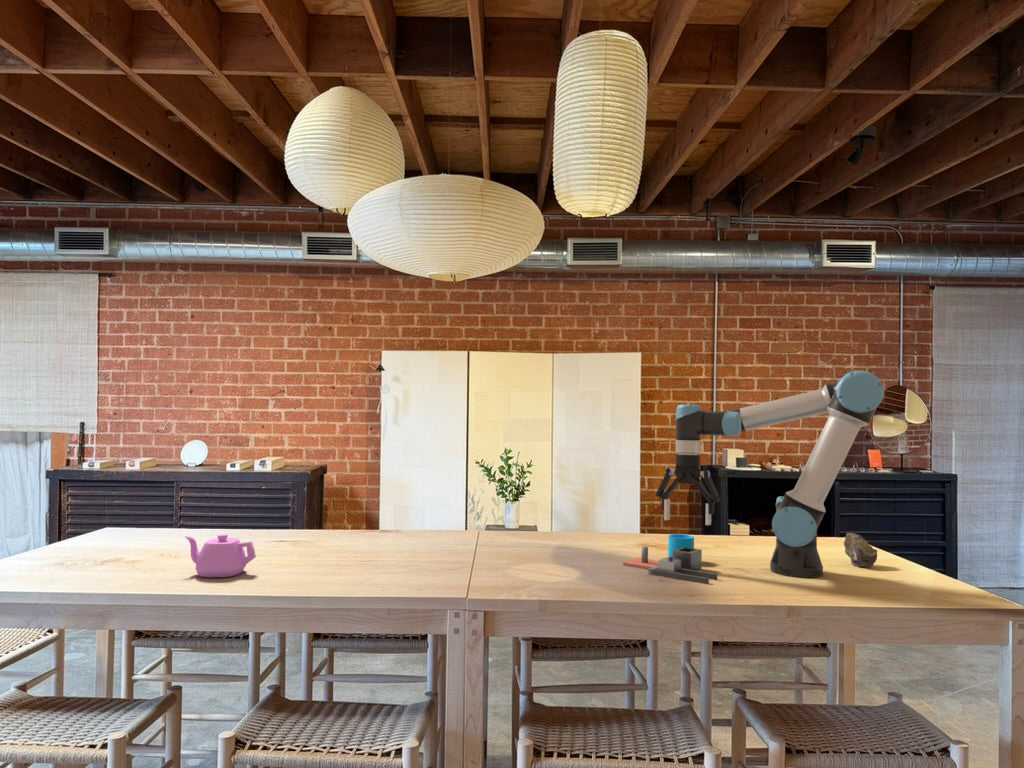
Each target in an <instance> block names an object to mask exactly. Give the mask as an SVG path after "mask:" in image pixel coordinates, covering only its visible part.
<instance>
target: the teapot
mask: <svg viewBox="0 0 1024 768" xmlns="http://www.w3.org/2000/svg"><path fill="white" fill-rule="evenodd" d="M216 536H217V538H213V539H208V540H207V541H205V542H204V543H203V546H202V547H201V550H200V551H199V549H198V545H197V541H196V540H195V538H193V537H192V536H187V535H186V536H184V538H186V540H188V541H189V544H190V558H191V560H192V562H193V563H194V564H195V572H196V573H197V574H198V576H199V577H202V578H228V577H234V576H237V575H239V574H241V573H242V572H243V571H244V569H245V568H246V566H247V564H249V563H250V562H252V561H253V560H254V559H255V558H256V557H257V554H256V552H255V547H254V542H253V541H245V542H241V540H240V539H239V538H230V537H228V536H229V535H228V534H225V533H224V534H218V535H216ZM245 547H246V553H247V554H246V553H245V550H244V548H245ZM246 555H247V556H246Z"/></svg>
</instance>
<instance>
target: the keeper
mask: <svg viewBox="0 0 1024 768" xmlns="http://www.w3.org/2000/svg"><path fill="white" fill-rule="evenodd" d="M658 562H659V560H656V559H655V560H654V559H649V547H648V546H641V557H635V558H633V559H630V560H627V561H624V562H623V563H622V565H623V566H627V567H633V568H640V569H644V570H649V569H650V568H652V567H655V566H658Z"/></svg>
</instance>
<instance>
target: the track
mask: <svg viewBox="0 0 1024 768" xmlns="http://www.w3.org/2000/svg"><path fill="white" fill-rule="evenodd" d="M648 575H652V576H659V577H665V578H669V579H676V580H681V581H688V582H692V583H693V582H694V583H699V584H705V585H709V583H710V580H715V581H717V580H718V573H713V572H712V573H711V572H706V571H701V570H698V571H695V570H689V569H682V568H681V573H675V572H669V571H663V570H658V566H655V567H652V568H650V569H648Z"/></svg>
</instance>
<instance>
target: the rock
mask: <svg viewBox="0 0 1024 768" xmlns="http://www.w3.org/2000/svg"><path fill="white" fill-rule="evenodd" d="M843 546H844V548H845V549H844V553H845V554H846V555H847V556H848V558H850V563H851V564H852V566H854V567H857V568H861V567H866V568H871V567H873V566H874V564H875V563H876V562H877V559H878V549H875V548H873V546H871V545H870V544H869V541H868V540H867V539H865V538H863V536H862V535H861V534H857V533H851V532H847V533H846V534H845V537H844V541H843Z"/></svg>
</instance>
